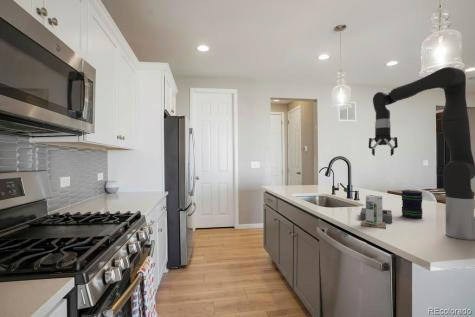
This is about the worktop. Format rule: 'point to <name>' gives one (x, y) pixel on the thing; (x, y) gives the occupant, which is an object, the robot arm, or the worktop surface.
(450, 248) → the worktop surface
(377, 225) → the walnut pad
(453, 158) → the robot arm
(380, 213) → the syrup box
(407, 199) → the storage jar
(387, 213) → the square-hole rail
